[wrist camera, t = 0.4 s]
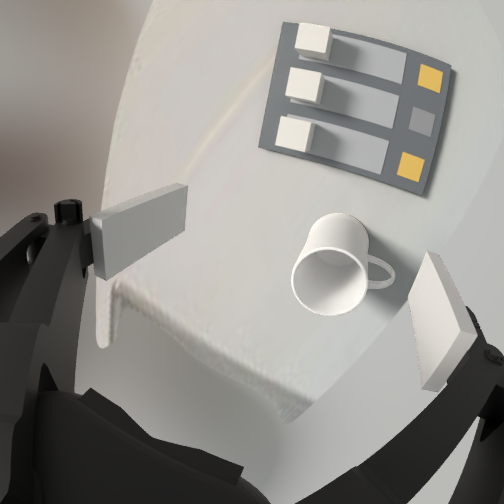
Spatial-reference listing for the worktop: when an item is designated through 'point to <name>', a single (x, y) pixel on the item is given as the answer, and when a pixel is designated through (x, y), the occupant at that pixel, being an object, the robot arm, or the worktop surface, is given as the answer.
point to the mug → (335, 267)
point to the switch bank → (364, 107)
